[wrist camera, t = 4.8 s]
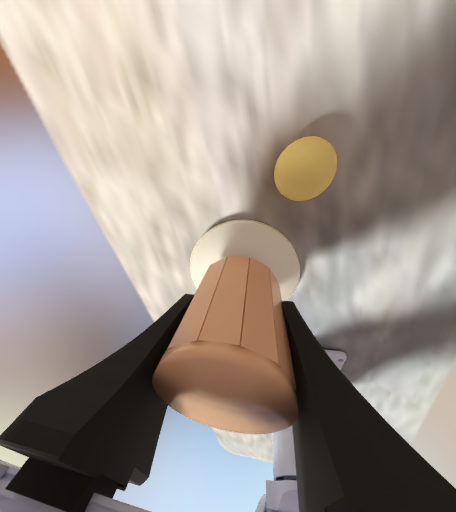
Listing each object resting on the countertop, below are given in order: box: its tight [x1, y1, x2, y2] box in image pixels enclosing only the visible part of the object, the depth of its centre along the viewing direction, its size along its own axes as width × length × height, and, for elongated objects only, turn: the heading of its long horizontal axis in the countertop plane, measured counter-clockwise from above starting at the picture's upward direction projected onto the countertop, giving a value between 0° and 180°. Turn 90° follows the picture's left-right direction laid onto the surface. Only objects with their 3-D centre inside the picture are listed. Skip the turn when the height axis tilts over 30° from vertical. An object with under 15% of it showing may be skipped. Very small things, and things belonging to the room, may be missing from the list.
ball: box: [274, 136, 338, 201], centre depth 9 cm, size 3×3×3 cm
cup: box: [152, 256, 298, 434], centre depth 9 cm, size 6×6×7 cm
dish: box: [190, 219, 300, 301], centre depth 14 cm, size 9×9×1 cm
